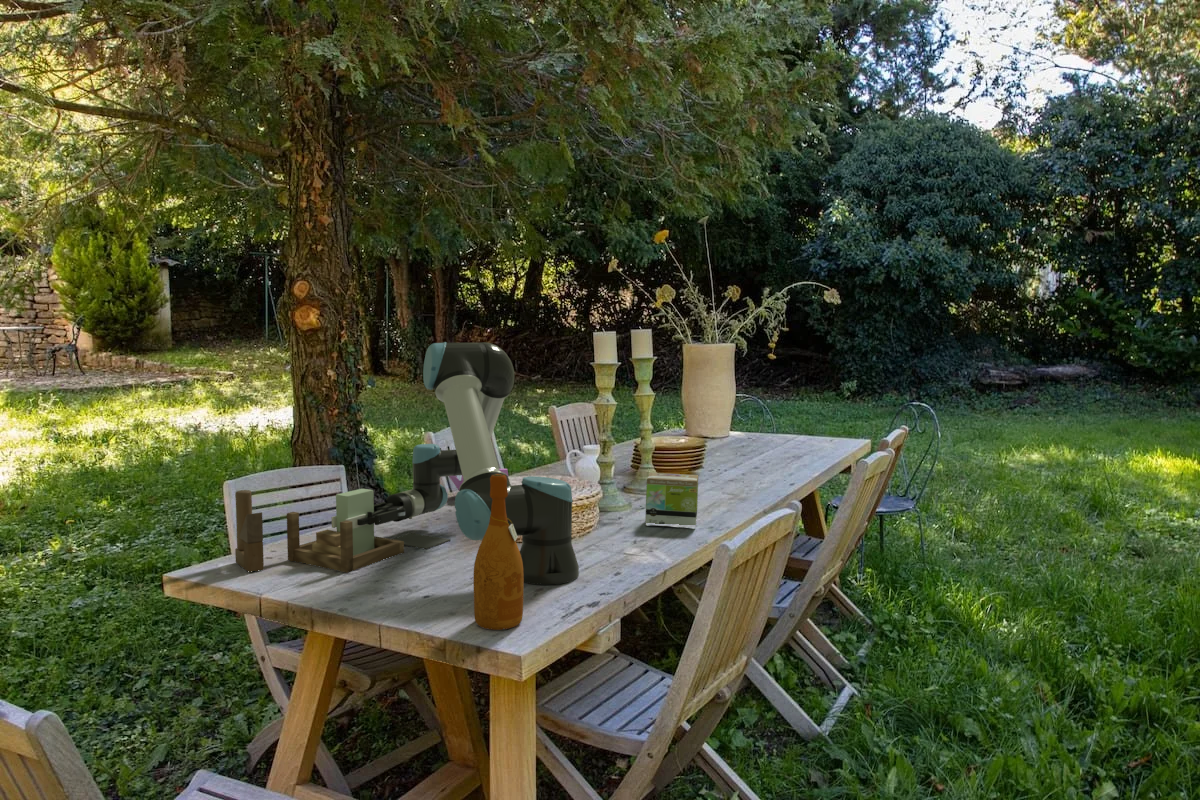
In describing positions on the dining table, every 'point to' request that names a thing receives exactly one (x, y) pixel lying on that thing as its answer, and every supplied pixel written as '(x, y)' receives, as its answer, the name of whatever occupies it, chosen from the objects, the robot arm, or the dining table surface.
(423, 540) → the felt mat
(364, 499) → the sage block
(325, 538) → the walnut offcut
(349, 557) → the rack
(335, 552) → the oak offcut
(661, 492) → the tea box
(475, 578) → the wine bottle
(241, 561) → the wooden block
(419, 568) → the dining table surface
